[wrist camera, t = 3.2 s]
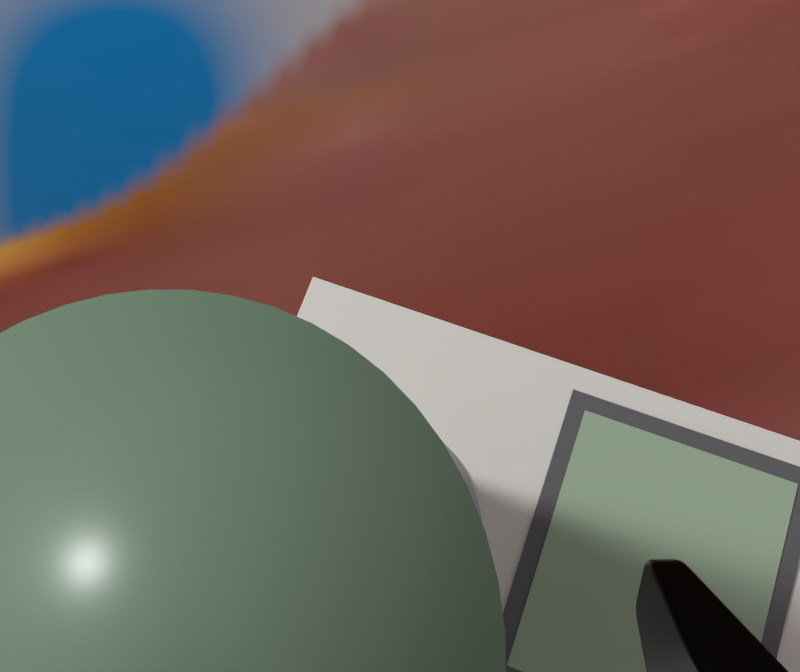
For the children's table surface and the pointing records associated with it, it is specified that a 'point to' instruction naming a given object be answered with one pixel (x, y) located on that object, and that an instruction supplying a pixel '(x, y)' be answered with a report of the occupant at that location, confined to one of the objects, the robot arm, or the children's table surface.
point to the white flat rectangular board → (590, 486)
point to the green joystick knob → (227, 500)
